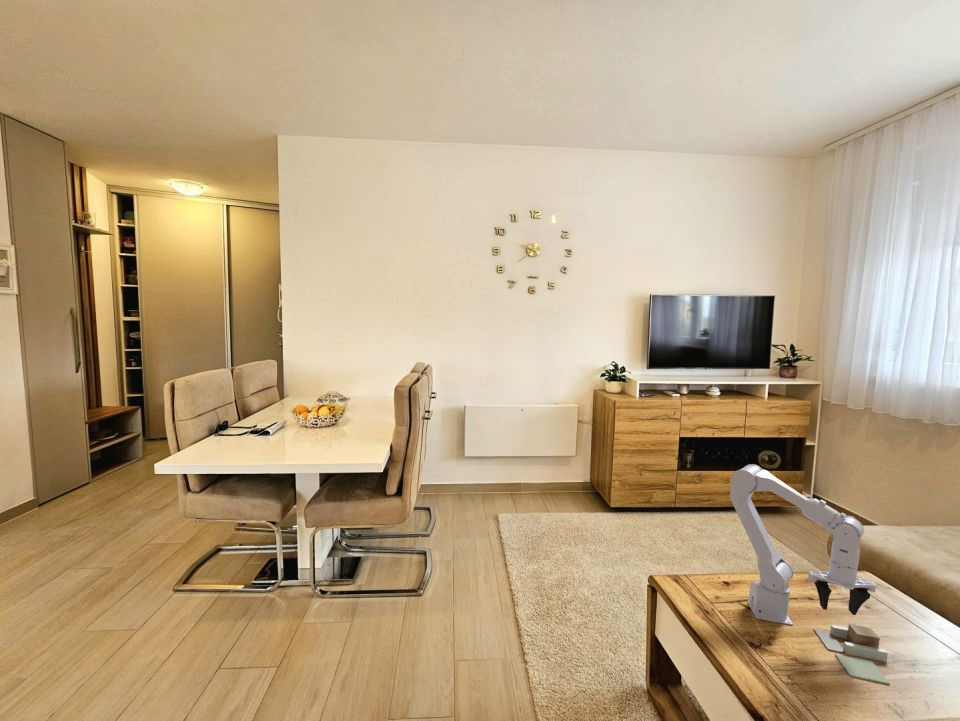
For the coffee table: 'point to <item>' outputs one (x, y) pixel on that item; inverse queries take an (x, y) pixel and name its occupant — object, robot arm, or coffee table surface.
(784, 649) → the coffee table surface
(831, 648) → the channel
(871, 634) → the block
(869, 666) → the pad
